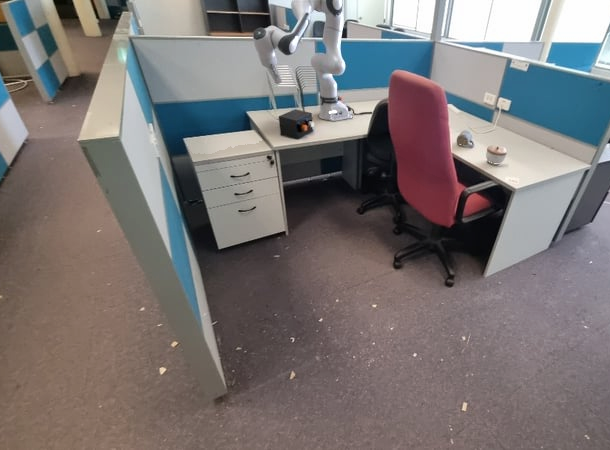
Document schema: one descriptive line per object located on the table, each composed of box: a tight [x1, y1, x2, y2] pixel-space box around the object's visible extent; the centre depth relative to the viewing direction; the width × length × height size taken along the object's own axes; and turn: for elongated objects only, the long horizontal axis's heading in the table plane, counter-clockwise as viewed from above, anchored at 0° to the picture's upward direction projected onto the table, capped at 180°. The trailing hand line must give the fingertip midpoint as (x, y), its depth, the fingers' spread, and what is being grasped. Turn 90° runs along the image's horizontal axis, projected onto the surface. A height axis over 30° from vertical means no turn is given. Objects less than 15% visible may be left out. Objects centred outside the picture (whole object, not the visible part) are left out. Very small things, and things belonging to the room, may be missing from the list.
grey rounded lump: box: [456, 130, 475, 148], centre depth 200 cm, size 11×8×8 cm
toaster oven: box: [277, 109, 314, 140], centre depth 197 cm, size 18×13×11 cm
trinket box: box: [485, 145, 508, 166], centre depth 181 cm, size 11×11×9 cm
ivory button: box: [308, 121, 315, 128], centre depth 197 cm, size 3×2×3 cm, turn 157°
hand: (275, 79), depth 195 cm, fingers closed
